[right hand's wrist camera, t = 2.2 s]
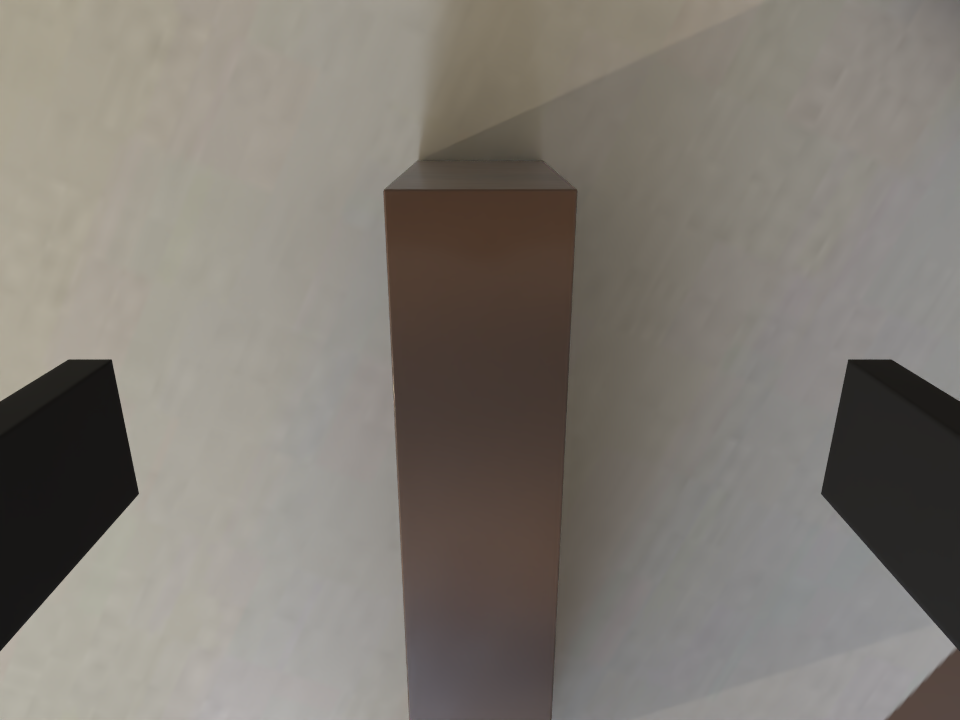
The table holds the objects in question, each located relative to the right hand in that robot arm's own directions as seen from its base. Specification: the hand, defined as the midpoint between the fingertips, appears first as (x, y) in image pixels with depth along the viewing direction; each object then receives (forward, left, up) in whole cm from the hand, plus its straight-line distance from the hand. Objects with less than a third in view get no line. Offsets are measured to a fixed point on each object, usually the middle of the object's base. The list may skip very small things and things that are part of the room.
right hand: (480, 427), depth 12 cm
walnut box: (+10, +8, -17) cm, 21 cm away
